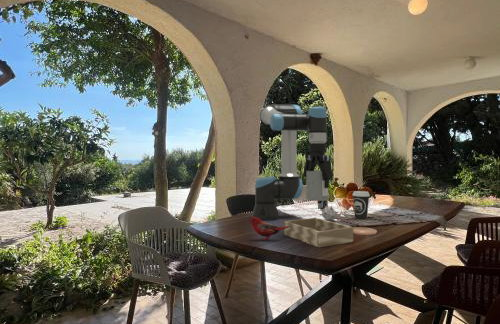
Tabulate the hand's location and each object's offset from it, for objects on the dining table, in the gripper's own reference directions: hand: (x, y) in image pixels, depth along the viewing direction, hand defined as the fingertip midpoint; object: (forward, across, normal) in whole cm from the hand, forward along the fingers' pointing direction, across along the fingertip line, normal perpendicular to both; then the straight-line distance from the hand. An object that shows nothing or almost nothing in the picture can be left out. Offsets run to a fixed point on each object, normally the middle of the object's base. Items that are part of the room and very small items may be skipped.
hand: (317, 194), depth 149 cm
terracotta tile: (+19, +2, +26) cm, 32 cm away
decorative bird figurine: (+19, -6, -20) cm, 29 cm away
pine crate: (+19, 0, 0) cm, 19 cm away
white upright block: (+2, 0, 0) cm, 2 cm away
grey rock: (+20, -26, +30) cm, 44 cm away
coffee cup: (+20, -23, +51) cm, 59 cm away
